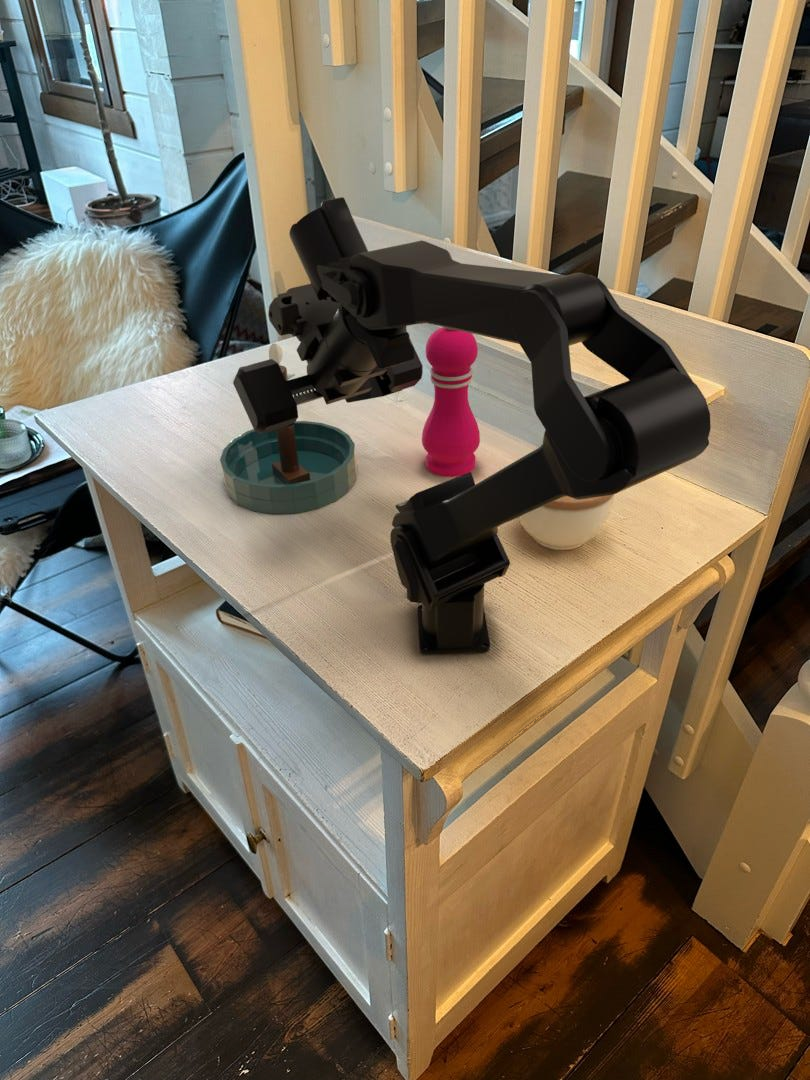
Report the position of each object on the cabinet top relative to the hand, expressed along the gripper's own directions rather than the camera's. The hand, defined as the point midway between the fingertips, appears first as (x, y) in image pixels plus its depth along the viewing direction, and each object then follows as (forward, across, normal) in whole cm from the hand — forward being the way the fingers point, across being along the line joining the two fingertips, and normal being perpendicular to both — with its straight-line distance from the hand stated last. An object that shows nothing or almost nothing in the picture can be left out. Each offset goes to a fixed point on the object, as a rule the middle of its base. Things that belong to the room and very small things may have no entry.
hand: (309, 409), depth 82 cm
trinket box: (-5, -19, +24) cm, 31 cm away
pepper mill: (+8, -18, +11) cm, 22 cm away
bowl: (+14, 0, +4) cm, 15 cm away
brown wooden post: (+14, 0, +4) cm, 14 cm away
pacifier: (+35, -11, -16) cm, 40 cm away
